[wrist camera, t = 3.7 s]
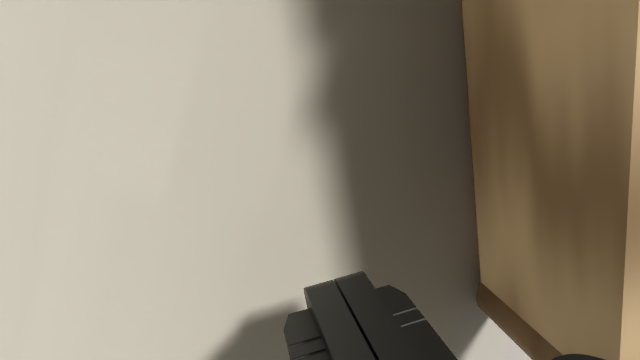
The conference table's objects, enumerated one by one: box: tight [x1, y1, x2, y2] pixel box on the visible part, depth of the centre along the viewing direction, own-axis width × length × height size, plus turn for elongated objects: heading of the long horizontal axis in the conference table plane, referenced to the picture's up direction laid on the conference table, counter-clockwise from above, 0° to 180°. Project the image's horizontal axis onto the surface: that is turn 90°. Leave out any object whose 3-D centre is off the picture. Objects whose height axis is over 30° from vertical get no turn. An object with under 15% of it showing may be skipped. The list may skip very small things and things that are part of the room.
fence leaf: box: [462, 0, 640, 360], centre depth 10 cm, size 13×2×5 cm, turn 11°
